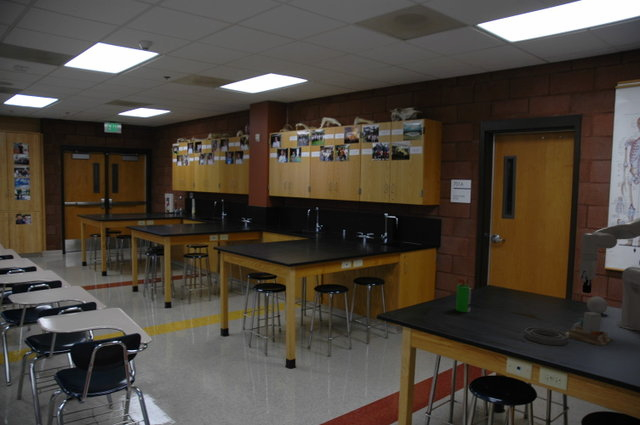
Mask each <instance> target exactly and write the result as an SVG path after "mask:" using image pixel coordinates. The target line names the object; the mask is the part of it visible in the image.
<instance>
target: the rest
mask: <svg viewBox="0 0 640 425" xmlns="http://www.w3.org/2000/svg"><path fill="white" fill-rule="evenodd" d="M564 333H565V334H566V335H568V339H573V340H577V341H580V342H586V343H589V344H593V345H597V346H601V347H603V346H605V345H607V344H608V343H610V342H611V341H613V338H611V337H608V332H606V331H601V330H600V333H599V336H597V335H593V334H588V333H584V332H583V327H580V326H576V330H572V329H568V331H566V332H564Z"/></svg>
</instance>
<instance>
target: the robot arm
mask: <svg viewBox="0 0 640 425" xmlns="http://www.w3.org/2000/svg"><path fill="white" fill-rule="evenodd" d="M638 237H640V217H639V218H635V219H633V220H630V221H627V222H625V223H619V224H616V225H612V226H606V227H604V228H601V229H598V230H596V231H593V232H585V233H582V236H581V250H580V251H581V252H580V267H579V273H578V279H581V280H582V293H583V294H591V293H592V287H593V286H592V285H593V284H592V283H593V279H595V278H596V271H597V270H596V269H597V268H596V267H597V262H598V260H599V259H598V256H599V248H600V249H613V248H615V247H616V246H617V244H618V240H632V239H636V238H638ZM638 265H639V266H640V260H639V261H638ZM621 278H622V279H621V280H622V286H623V289H622V301H621V302H622V303H621V315H620V316H621V318H620V321H618V322H617V324H616V325H617V326H618V327H620V328H623V329H626V330H630V331H638V332H639V331H640V267H636V266H629V267H627V268H625V269H624V270H623V272H622V275H621Z"/></svg>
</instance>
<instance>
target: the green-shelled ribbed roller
mask: <svg viewBox="0 0 640 425" xmlns="http://www.w3.org/2000/svg"><path fill="white" fill-rule="evenodd" d="M459 283H460V284H459ZM456 288H457V289H456V300H455V310H456V311H457V312H461V313H469V312H471V306H469V304H471V297H472V296H471V295H472V291H471V290H472V288H471V287H469V284H466V283H465V280H464V279H463V278H459V279H458V284H457V286H456Z"/></svg>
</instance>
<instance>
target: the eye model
mask: <svg viewBox="0 0 640 425" xmlns="http://www.w3.org/2000/svg"><path fill="white" fill-rule="evenodd" d="M586 305H587V309H588V310H589V312H596V313H599V314H601V315H602V314H603V313H605V312H606V311H607V309H608V302H607V301H606V300H605V299H604V298H603V297H601V296H597V295H596V296H591V297H590V298H589V299H588V300H587V302H586Z"/></svg>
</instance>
